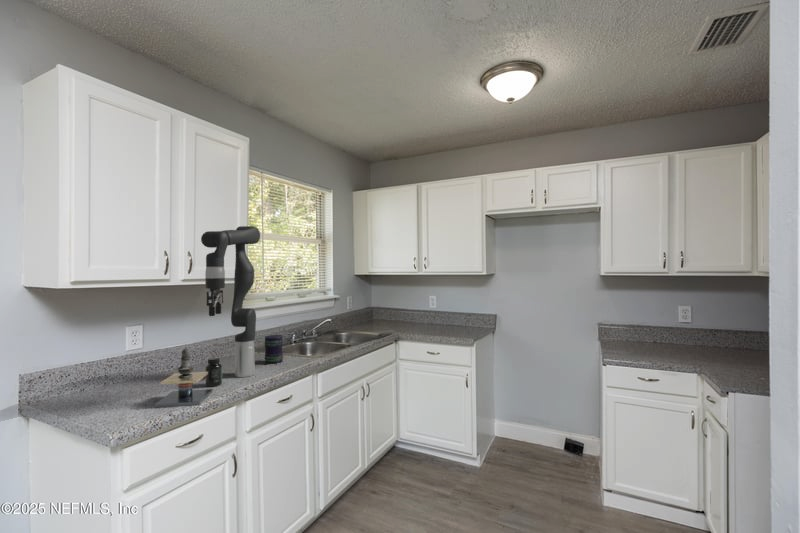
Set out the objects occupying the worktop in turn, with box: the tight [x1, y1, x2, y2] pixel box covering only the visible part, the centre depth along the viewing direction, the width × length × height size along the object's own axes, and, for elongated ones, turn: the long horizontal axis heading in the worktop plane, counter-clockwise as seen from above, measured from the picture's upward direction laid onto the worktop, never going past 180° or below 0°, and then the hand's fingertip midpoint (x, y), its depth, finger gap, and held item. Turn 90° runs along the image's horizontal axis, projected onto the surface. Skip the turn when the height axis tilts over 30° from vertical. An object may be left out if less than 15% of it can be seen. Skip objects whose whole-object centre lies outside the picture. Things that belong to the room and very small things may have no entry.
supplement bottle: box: [204, 357, 223, 388], centre depth 174 cm, size 7×7×12 cm
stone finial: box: [176, 346, 195, 378], centre depth 155 cm, size 6×6×12 cm
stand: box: [154, 371, 214, 408], centre depth 154 cm, size 16×16×9 cm
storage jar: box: [264, 334, 284, 365], centre depth 216 cm, size 10×10×15 cm
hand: (215, 314), depth 164 cm, fingers open, 8 cm apart
